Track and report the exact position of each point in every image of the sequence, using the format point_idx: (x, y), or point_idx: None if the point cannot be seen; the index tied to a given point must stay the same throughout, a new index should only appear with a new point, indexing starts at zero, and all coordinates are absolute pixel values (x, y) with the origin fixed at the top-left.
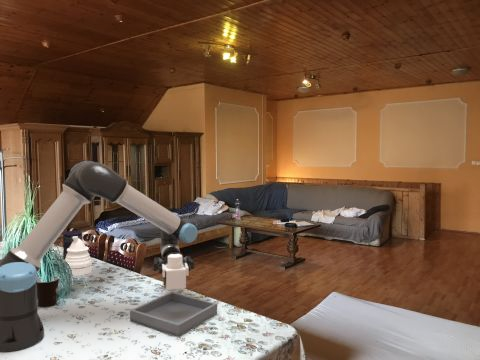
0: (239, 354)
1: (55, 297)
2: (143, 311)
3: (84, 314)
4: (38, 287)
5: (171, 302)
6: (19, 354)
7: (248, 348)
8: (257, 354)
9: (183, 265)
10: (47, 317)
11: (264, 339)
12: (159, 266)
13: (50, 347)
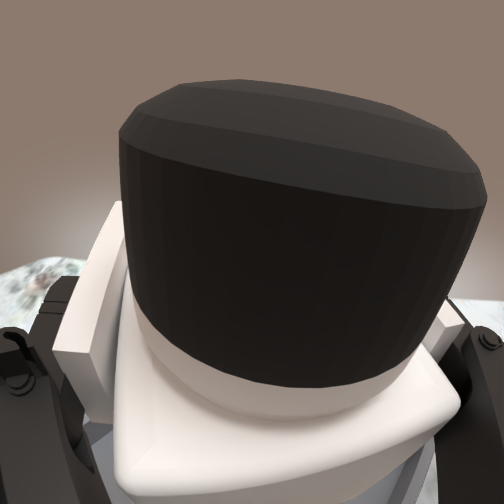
0: (82, 262)
1: None
2: (393, 497)
3: None
4: None
5: None
6: (500, 303)
7: (53, 275)
8: (52, 258)
9: (122, 365)
10: None
11: (3, 295)
12: (465, 325)
13: (484, 319)
